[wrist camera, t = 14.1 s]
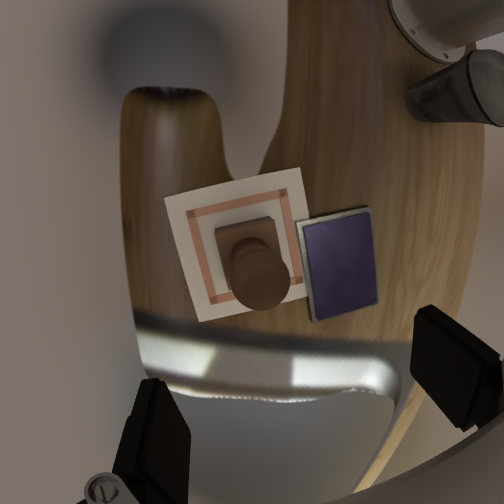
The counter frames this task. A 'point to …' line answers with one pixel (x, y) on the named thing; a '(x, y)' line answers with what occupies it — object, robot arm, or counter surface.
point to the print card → (230, 212)
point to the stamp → (253, 263)
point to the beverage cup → (462, 91)
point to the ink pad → (338, 262)
